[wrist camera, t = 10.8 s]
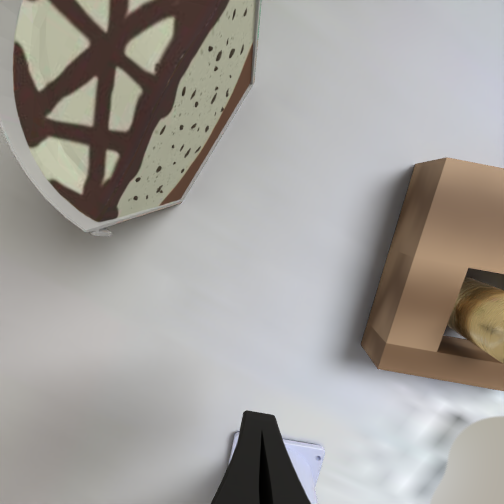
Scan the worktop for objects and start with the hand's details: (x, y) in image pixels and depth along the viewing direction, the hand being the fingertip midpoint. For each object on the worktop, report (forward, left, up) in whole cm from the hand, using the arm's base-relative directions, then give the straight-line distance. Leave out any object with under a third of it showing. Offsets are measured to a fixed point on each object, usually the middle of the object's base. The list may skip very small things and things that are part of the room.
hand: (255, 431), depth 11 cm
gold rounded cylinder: (+5, -15, -9) cm, 18 cm away
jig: (+7, -15, -9) cm, 19 cm away
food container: (+14, +8, -10) cm, 19 cm away
